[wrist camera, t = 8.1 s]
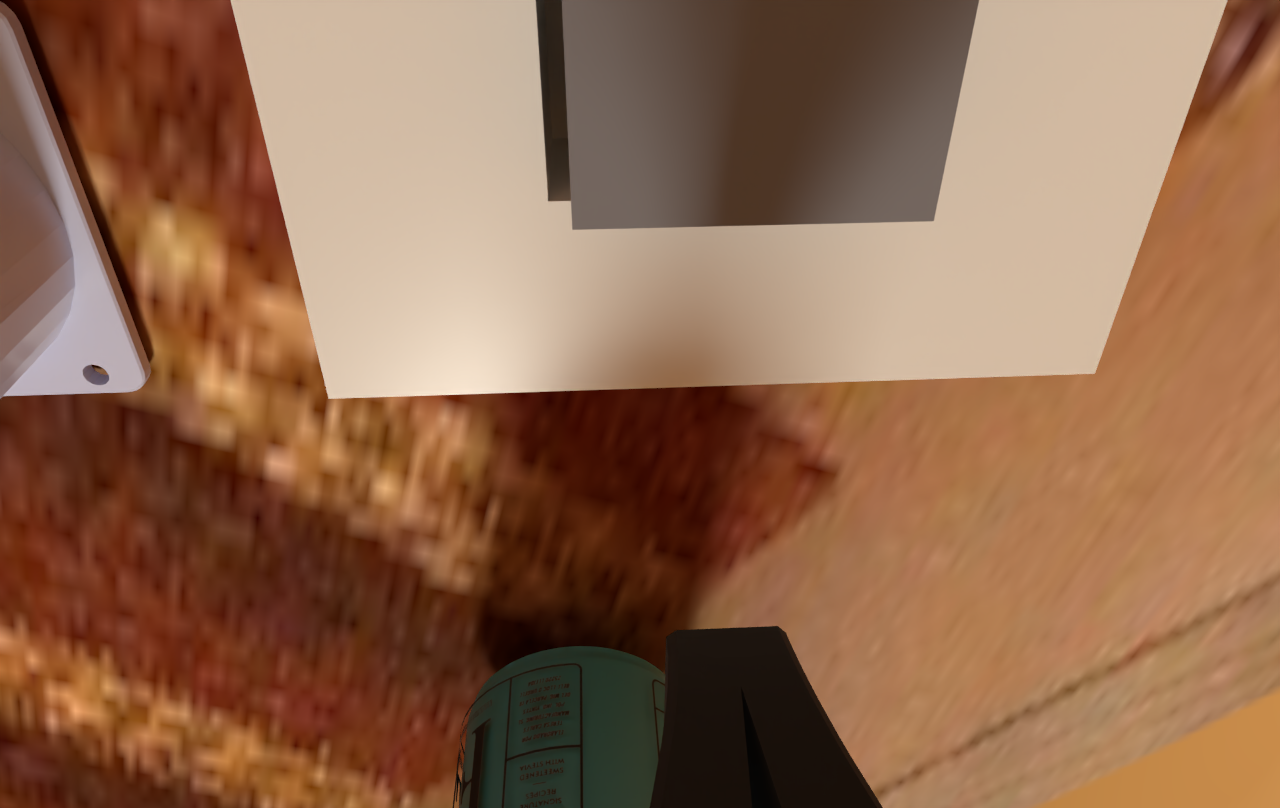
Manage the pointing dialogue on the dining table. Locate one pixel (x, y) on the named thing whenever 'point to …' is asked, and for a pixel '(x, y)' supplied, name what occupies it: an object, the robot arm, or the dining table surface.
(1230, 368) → the dining table surface
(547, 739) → the beverage bottle
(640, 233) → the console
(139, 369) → the robot arm
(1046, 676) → the dining table surface
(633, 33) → the charcoal key
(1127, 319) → the dining table surface
